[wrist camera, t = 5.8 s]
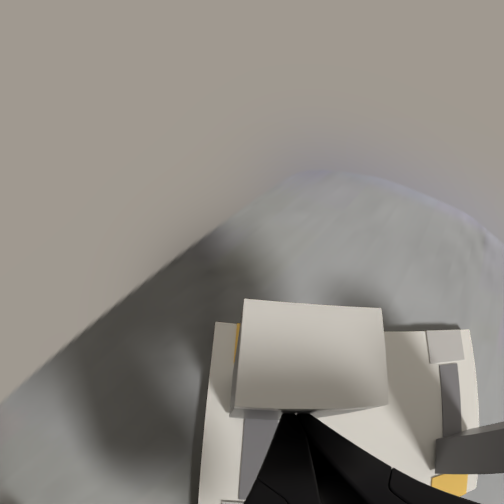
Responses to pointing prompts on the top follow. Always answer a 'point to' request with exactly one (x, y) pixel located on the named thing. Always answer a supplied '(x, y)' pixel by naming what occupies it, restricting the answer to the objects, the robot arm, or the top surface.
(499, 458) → the switch
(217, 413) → the switch board
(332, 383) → the switch
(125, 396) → the top surface
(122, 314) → the top surface
